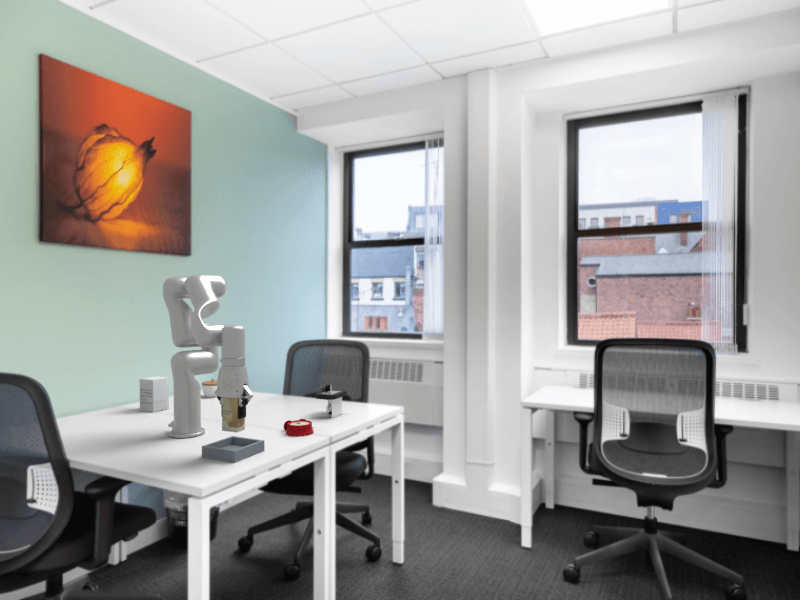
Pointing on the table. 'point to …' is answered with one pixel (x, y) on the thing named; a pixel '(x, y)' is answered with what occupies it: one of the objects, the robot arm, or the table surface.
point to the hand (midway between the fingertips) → (233, 416)
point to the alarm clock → (298, 427)
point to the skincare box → (231, 416)
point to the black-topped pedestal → (332, 399)
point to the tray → (233, 448)
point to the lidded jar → (209, 388)
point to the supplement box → (154, 394)
